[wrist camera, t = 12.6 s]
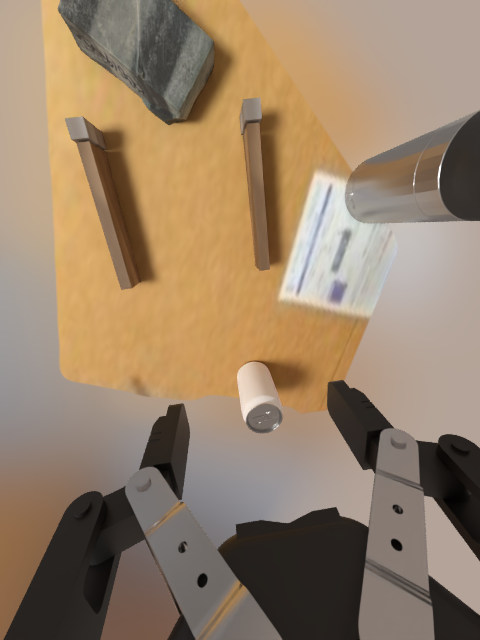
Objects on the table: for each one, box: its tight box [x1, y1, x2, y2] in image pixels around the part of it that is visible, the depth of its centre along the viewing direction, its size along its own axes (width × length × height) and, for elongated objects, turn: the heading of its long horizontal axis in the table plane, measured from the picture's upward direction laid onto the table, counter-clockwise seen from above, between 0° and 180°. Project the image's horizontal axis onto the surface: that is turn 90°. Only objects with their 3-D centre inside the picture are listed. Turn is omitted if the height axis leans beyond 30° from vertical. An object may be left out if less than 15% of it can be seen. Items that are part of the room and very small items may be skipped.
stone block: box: [58, 0, 214, 125], centre depth 28 cm, size 9×14×5 cm, turn 56°
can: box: [237, 362, 282, 433], centre depth 43 cm, size 6×6×12 cm
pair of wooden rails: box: [65, 98, 270, 290], centre depth 34 cm, size 22×20×5 cm
